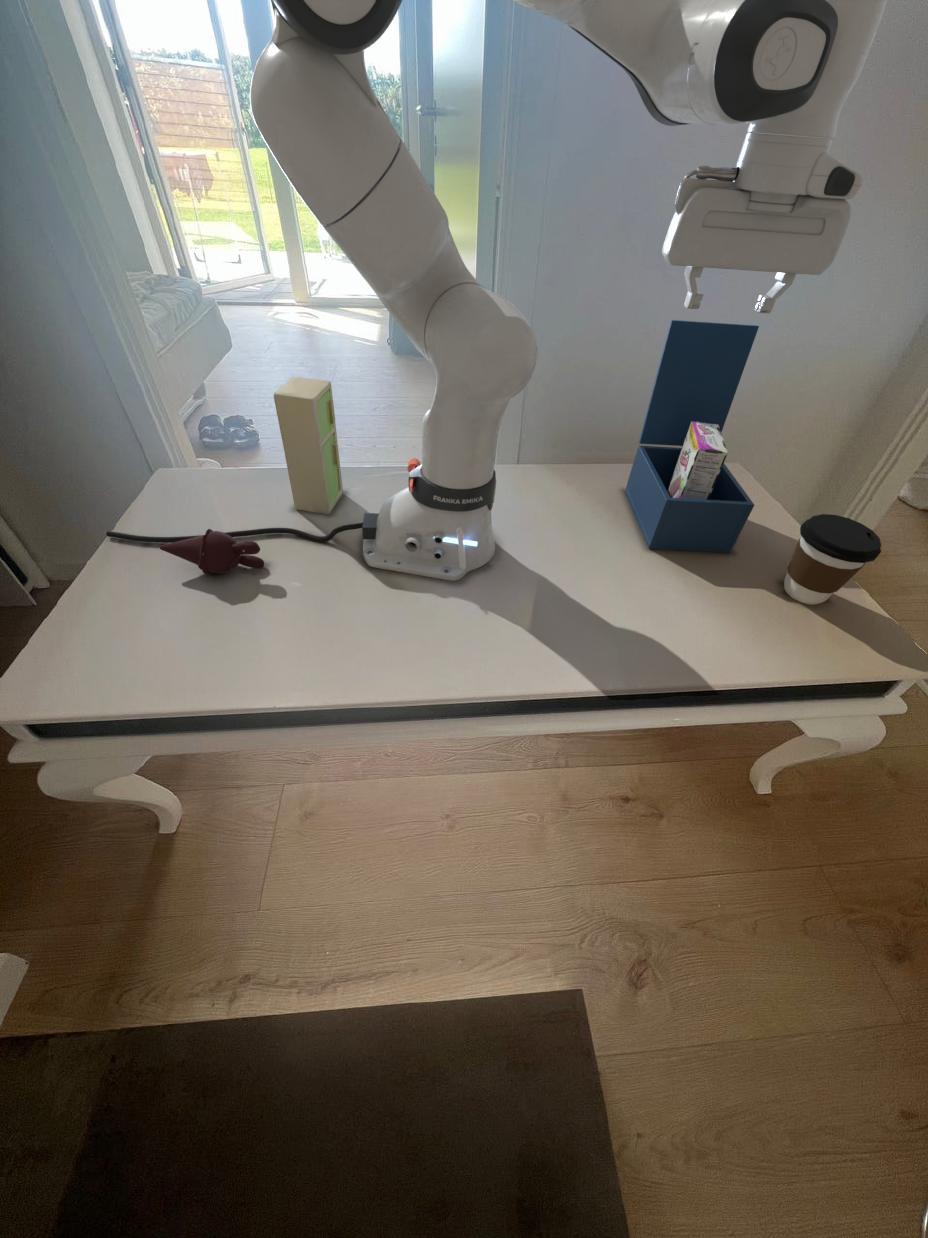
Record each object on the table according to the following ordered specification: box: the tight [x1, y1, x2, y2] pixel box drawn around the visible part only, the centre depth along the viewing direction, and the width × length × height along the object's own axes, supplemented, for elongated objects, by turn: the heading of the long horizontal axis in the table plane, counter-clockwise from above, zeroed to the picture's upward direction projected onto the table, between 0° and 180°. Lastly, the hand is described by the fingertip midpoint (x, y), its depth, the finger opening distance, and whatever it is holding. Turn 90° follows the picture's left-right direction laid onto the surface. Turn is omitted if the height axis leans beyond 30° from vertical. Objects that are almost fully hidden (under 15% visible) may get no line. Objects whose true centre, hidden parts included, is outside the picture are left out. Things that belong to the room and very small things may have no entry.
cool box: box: [624, 445, 755, 554], centre depth 96 cm, size 20×15×10 cm
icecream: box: [159, 528, 265, 576], centre depth 80 cm, size 7×7×15 cm
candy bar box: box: [667, 421, 729, 500], centre depth 93 cm, size 11×5×16 cm, turn 169°
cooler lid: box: [638, 319, 760, 447], centre depth 95 cm, size 21×15×5 cm
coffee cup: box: [783, 513, 882, 606], centre depth 82 cm, size 11×11×12 cm
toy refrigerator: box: [273, 375, 344, 515], centre depth 90 cm, size 8×7×21 cm
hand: (726, 309), depth 68 cm, fingers open, 8 cm apart
